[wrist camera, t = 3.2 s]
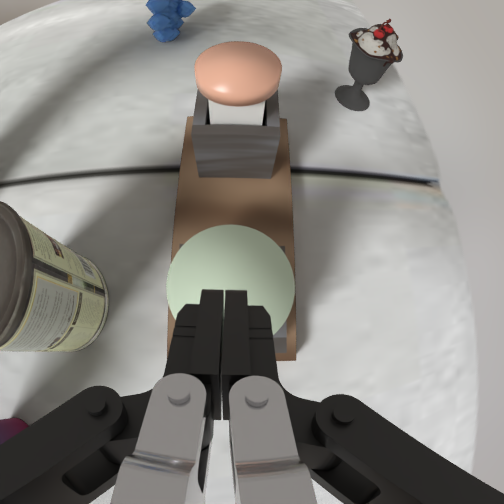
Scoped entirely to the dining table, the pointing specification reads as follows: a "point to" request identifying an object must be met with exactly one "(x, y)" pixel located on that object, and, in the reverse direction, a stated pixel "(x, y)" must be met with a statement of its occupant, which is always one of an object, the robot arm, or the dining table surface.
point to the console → (237, 190)
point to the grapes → (168, 17)
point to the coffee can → (46, 291)
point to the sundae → (368, 62)
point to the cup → (10, 428)
